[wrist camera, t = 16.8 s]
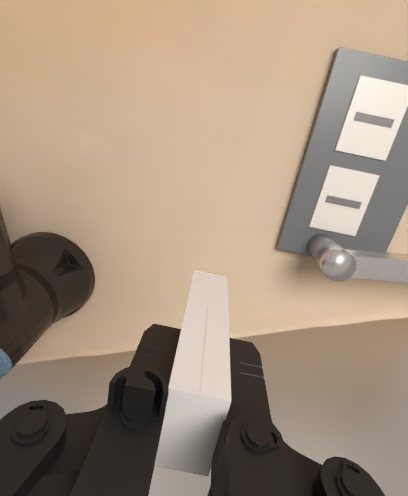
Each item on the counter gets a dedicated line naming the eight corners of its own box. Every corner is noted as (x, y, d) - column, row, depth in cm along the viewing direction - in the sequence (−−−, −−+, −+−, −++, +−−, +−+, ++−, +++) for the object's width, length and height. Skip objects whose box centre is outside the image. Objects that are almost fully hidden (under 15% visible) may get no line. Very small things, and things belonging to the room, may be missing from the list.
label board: (276, 246, 46) (283, 261, 40) (335, 49, 37) (357, 32, 31) (374, 266, 46) (395, 284, 40) (459, 76, 37) (503, 63, 31)
